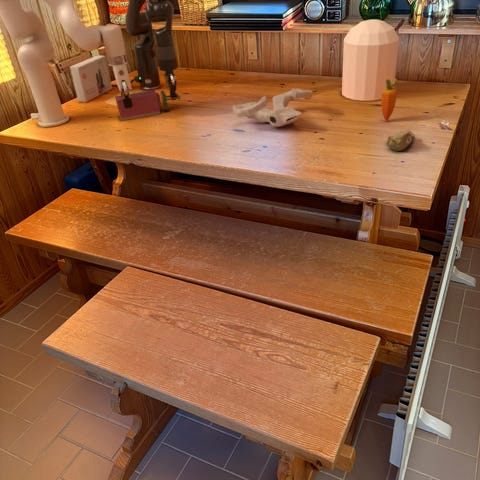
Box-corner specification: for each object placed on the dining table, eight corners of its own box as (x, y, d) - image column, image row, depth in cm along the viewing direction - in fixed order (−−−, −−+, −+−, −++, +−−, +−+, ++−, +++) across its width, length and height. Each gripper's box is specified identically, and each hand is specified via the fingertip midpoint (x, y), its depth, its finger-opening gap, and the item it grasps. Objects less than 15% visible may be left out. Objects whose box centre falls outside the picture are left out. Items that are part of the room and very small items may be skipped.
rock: (408, 140, 153) (379, 139, 152) (414, 122, 149) (384, 120, 148) (421, 154, 144) (391, 153, 143) (428, 135, 140) (396, 133, 139)
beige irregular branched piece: (230, 133, 167) (227, 101, 161) (244, 110, 188) (241, 81, 182) (308, 133, 161) (308, 99, 155) (313, 109, 182) (314, 78, 176)
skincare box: (87, 102, 214) (77, 67, 204) (78, 102, 215) (68, 66, 206) (113, 88, 229) (105, 54, 220) (104, 88, 231) (96, 54, 222)
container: (362, 104, 181) (368, 27, 165) (331, 91, 197) (333, 20, 182) (404, 93, 188) (413, 18, 172) (371, 81, 204) (376, 12, 188)
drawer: (179, 103, 199) (177, 88, 195) (182, 106, 195) (179, 91, 192) (130, 112, 194) (127, 96, 191) (132, 116, 191) (128, 100, 187)
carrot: (394, 118, 167) (398, 76, 158) (393, 123, 163) (397, 80, 154) (379, 117, 168) (383, 75, 160) (378, 122, 165) (382, 80, 156)
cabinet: (157, 109, 198) (154, 89, 193) (160, 113, 193) (156, 93, 188) (119, 116, 194) (115, 96, 190) (121, 120, 189) (116, 100, 185)
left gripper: (130, 63, 174) (140, 109, 184) (124, 53, 188) (133, 97, 198) (110, 66, 172) (121, 113, 182) (105, 56, 186) (116, 101, 196)
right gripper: (179, 58, 181) (185, 102, 191) (172, 52, 191) (179, 94, 201) (160, 61, 179) (168, 105, 189) (154, 55, 190) (162, 97, 199)
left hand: (127, 104), depth 190 cm, fingers closed on cabinet, 6 cm apart
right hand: (173, 99), depth 195 cm, fingers closed
